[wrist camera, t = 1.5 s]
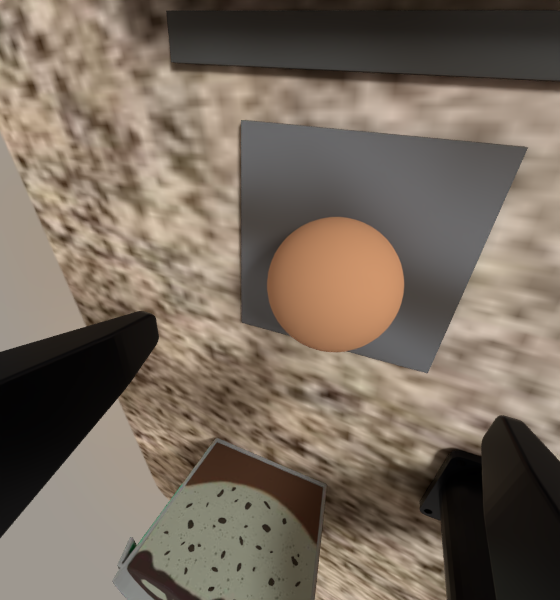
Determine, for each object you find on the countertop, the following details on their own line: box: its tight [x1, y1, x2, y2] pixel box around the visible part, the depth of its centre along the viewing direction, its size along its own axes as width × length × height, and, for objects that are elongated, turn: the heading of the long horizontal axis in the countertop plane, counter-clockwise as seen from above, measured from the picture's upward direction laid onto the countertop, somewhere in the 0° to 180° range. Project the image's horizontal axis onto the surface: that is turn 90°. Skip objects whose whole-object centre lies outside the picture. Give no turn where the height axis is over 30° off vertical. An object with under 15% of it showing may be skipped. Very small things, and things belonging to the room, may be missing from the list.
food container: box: [113, 438, 327, 600], centre depth 22 cm, size 12×6×10 cm, turn 82°
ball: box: [267, 217, 404, 352], centre depth 12 cm, size 5×5×5 cm
